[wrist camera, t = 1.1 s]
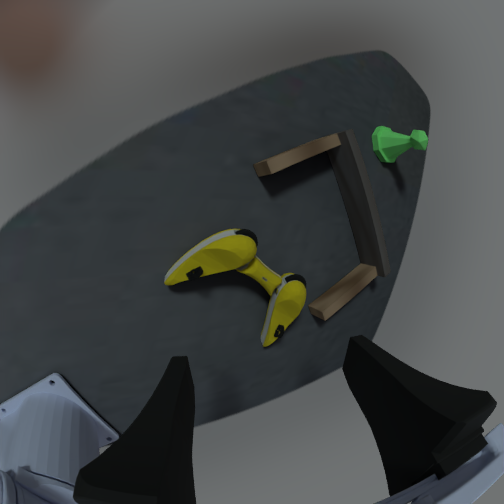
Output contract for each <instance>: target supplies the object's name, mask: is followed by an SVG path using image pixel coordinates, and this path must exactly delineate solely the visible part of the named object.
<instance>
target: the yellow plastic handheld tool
mask: <svg viewBox="0 0 504 504" xmlns="http://www.w3.org/2000/svg"><path fill="white" fill-rule="evenodd" d="M257 245H258V242H257V237H256V235H255V234H254V233H253V232H251V231H250V230H247V229H228V230H224V231H221V232H218V233H216V234H213V235H212V236H210V237H208V238H206V239H204V240H203V241H201V242H200V243H199V244H197V245H196V246H194V247H193V248H192V249H190V250H189V251H188V252H187V253H185V254H184V255H183V256H182V257H181V258H180V259H179V260H178V261H177V262H176V263H175V264H174V265H173V266H172V267H171V268H170V270H169V271H168V272H167V274H166V276H165V282H164V284H165V285H174V284H176V283H179V282H182V281H186V280H195V279H197V278H199V277H202V276H206V275H210V274H214V273H218V272H223V271H228V270H232V269H236V270H237V271H238V272H240V273H244V274H246V275H248V276H250V277H252V278H253V279H255V280H256V281H257V282H259V283H260V284H261V285H262V286H263V287H264V288H265V289H266V291H267V292H268V294H269V295H270V296H271V297H270V301H269V305H268V309H267V314H266V318H265V322H264V326H263V329H262V333H261V342H262V345H263V347H266V346H269V345H270V344H272V343H273V342H274V341H275V340H276V339H277V338H281V337H282V335H283V333H284V330H285V329H286V328H287V327H288V325H289V324H290V323H291V322H292V321H293V320H294V319H295V318H296V317H297V316H298V315H299V313H300V311H301V309H302V308H303V306H304V303H305V300H306V281H305V279H304V278H303V277H302V276H301V275H297V274H293V273H286V274H283V275H282V276H281V277H280V275H278V274H277V273H276V272H274V271H273V270H271V269H270V268H269V267H267V266H266V265H265V264H264V263H263V262H262V261H261V260H260V259H259V258H258V257H257V256H256V250H257Z"/></svg>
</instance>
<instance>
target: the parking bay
mask: <svg viewBox="0 0 504 504" xmlns="http://www.w3.org/2000/svg"><path fill="white" fill-rule="evenodd" d="M324 151H327V153H328V156H329V159H330V162H331V164H332V167H333V170H334V173H335V176H336V179H337V182H338V185H339V188H340V191H341V194H342V197H343V201H344V204H345V207H346V210H347V214H348V217H349V221H350V224H351V228H352V231H353V235H354V238H355V242H356V246H357V250H358V254H359V258H360V262H361V264H360V265H358V266H357V267H356V268H355V269H354V270H352V271H351V272H350V273H349V274H347V275H346V276H345V277H344V278H342V279H341V280H340V281H339V282H337V283H336V284H335V285H334V286H332V287H331V288H330V289H329V290H327V291H326V292H325V293H324V294H322V295H321V296H320V297H318V298H317V299H316V300H314V301H313V302H312V303H311V304H309V305H308V307H309V309H310V312H311V314H312V315H314V316H316V317H318V318H320V319H322V320H324V321H326V320H327V319H328V318H329V317H331V316H332V315H333V314H334V313H335V312H337V311H338V310H339V309H340V308H341V307H342V306H344V305H345V304H346V303H347V302H348V301H349V300H351V299H352V298H353V297H354V296H355V295H356V294H357V293H359V292H360V291H361V290H362V289H363V288H364V287H365V286H366V285H367V284H369V283H370V282H371V281H372V280H373V279H374V278H375V277H376V276H377V275H378V276H382V277H386V276H387V275H388V274H389V273H390V272H391V271H390V265H389V260H388V254H387V249H386V244H385V240H384V235H383V231H382V226H381V222H380V218H379V214H378V210H377V206H376V202H375V198H374V195H373V191H372V187H371V184H370V180H369V177H368V174H367V170H366V167H365V164H364V161H363V158H362V155H361V152H360V149H359V146H358V143H357V140H356V137H355V134H354V132H353V129H350V130H346V131H342V132H338V133H335V134H331V135H328V136H325V137H322V138H319V139H316V140H314V141H311V142H308V143H306V144H303V145H300V146H298V147H295V148H293V149H290V150H288V151H285V152H283V153H280V154H278V155H275V156H273V157H270V158H268V159H265V160H263V161H261V162H258V163H256V164H253V166H254V168H255V171H256V173H257V175H258V177H260V176H265V175H269V174H273V173H275V172H277V171H280V170H282V169H284V168H286V167H289V166H291V165H293V164H296V163H298V162H300V161H302V160H305V159H307V158H310V157H312V156H314V155H317V154H319V153H321V152H324Z"/></svg>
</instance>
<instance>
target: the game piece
mask: <svg viewBox="0 0 504 504" xmlns="http://www.w3.org/2000/svg"><path fill="white" fill-rule="evenodd" d="M372 142H373V150H374V152H375V154H376V155H377V157H378V158H379V160H380V161H381V162H386V163H393V162H395V160H396V158H397V156H399V155H400V154H402V153H403V152H405V151H406V150H408V149H409V148H411V147H413V148H414V149H419V150H425V149H426V147H427V145H428V138H427V136H426V134H425V132H424V131H420V130H413V132H412V134H411V136H406V135H403V134H399V133H395V132H392V130H391V129H390V128H387V127H383V126H380V127H377V128H376V129H375V131H374V133H373V135H372Z"/></svg>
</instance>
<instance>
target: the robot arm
mask: <svg viewBox="0 0 504 504" xmlns="http://www.w3.org/2000/svg"><path fill="white" fill-rule="evenodd" d="M342 369H343V372H344V375H345V378H346V380H347V383H348V385H349V388H350V390H351V391H352V393H353V395H354V397H355V399H356V401H357V403H358V404H359V406H360V408H361V410H362V412H363V414H364V415H365V417H366V419H367V421H368V423H369V425H370V427H371V430H372V432H373V435H374V438H375V440H376V443H377V446H378V449H379V452H380V455H381V458H382V462H383V466H384V470H385V474H386V479H387V484H388V489H389V495H390V497H388V498H386V499H384V500H382V501H379V502H377V503H374V504H407V503H409V502H411V501H412V502H411V504H472V503H473V502H474V501H475V500H477V498H479V497H480V496H481V495H482V494H483V493H484V492H485V491H486V490H487V489H488V488H489V487H490V486H491V485H492V484H494V483H495V481H496V480H497V479H498V478H499V477H500V476H501V475H502V474H503V473H504V426H503V425H502V423H500V424H498V425H497V426H496V427H495V428H494V429H493V430H491V431H490V432H489V433H488V434H487V435H486V436H485V437H483V435H482V433H483V432H484V429H483V428H482V427H481V426H482V424H483V423H484V422H485V421H486V420H487V418H488V417H489V416H490V415H491V413H492V412H493V411H494V409H495V407H496V405H497V402H496V401H495V400H494V398H493V397H492V396H491V395H490V394H489V392H488V391H480V390H473V389H467V388H463V387H459V386H455V385H451V384H449V383H446V382H443V381H440V380H437V379H435V378H432V377H430V376H428V375H425V374H424V373H421V372H419V371H417V370H416V369H414V368H412V367H410V366H408V365H407V364H405V363H403V362H402V361H400V360H398V359H397V358H395V357H394V356H392V355H391V354H389V353H388V352H386V351H385V350H383V349H382V348H380V347H379V346H377V345H376V344H375V343H373V342H372V341H370V340H369V339H367V338H366V337H364V336H362V335H359V336H354V337H350V340H349V344H348V349H347V353H346V357H345V360H344V364H343V368H342ZM50 380H52V381H54V382H55V383H52V382H51V381H50ZM4 409H5V410H4ZM194 415H195V394H194V384H193V380H192V376H191V371H190V367H189V362H188V357H187V356H177V357H172V358H171V360H170V362H169V364H168V367H167V369H166V371H165V373H164V375H163V377H162V379H161V381H160V382H159V384H158V386H157V388H156V389H155V391H154V393H153V395H152V396H151V398H150V399H149V401H148V402H147V404H146V405H145V407H144V408H143V410H142V411H141V413H140V414H139V415H138V417H137V418H136V419H135V420H134V422H133V423H132V424H131V425H130V426H129V428H128V429H127V430H126V431H125V432H124V433H123V434H122V435H121V436H120V437H119V435H118V433H117V432H116V431H115V430H114V429H113V428H112V427H110V426H109V425H108V424H107V423H106V422H105V421H104V420H103V419H102V418H101V417H100V416H99V415H98V414H97V413H96V412H95V411H94V410H93V409H92V408H91V407H90V406H89V405H88V404H87V403H86V402H85V401H84V400H83V399H82V398H81V397H80V396H79V395H78V394H77V393H76V392H75V391H74V390H73V388H72V387H71V386H70V385H69V384H68V383H67V382H66V381H65V379H64V378H63V377H62V376H61V375H60V374H58V373H53V374H51V375H49V376H48V377H46V378H44V379H43V380H41V381H39V382H38V383H36V384H34V385H32V386H31V387H29V388H27V389H26V390H24V391H22V392H21V393H19V394H17V395H16V396H14V397H12V398H10V399H9V400H7V401H5V402H4V403H2V404H0V504H196V497H195V489H194V478H193V466H192V444H193V429H194ZM107 437H110V438H107ZM114 441H115V442H114ZM112 442H114V443H113V444H112V445H111V446H110V447H109V448H108V449H106V450H105V451H104V452H103V453H102V454H101V455H100V454H99V448H101V447H103V446H105V445H107V444H110V443H112Z"/></svg>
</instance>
